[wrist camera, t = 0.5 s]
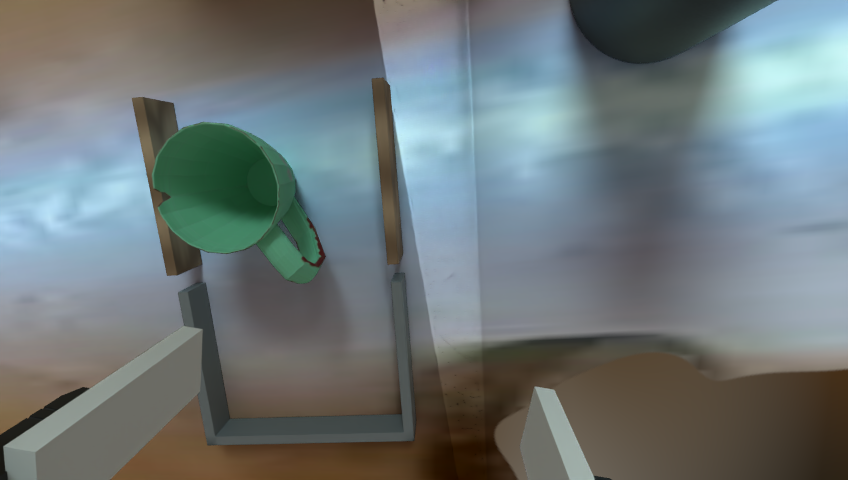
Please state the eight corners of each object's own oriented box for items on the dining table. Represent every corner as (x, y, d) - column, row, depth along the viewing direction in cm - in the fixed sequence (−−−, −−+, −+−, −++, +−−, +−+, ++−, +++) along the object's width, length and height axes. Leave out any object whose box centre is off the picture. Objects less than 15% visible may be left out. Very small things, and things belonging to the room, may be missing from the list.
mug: (202, 176, 40) (124, 182, 30) (271, 108, 39) (212, 92, 29) (304, 285, 42) (261, 324, 32) (374, 224, 40) (351, 246, 30)
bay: (163, 103, 39) (131, 97, 35) (389, 85, 38) (383, 77, 34) (192, 264, 42) (166, 275, 38) (403, 253, 41) (398, 264, 37)
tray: (196, 283, 43) (177, 292, 40) (404, 272, 41) (401, 281, 38) (222, 426, 46) (207, 445, 43) (416, 422, 44) (414, 440, 41)
